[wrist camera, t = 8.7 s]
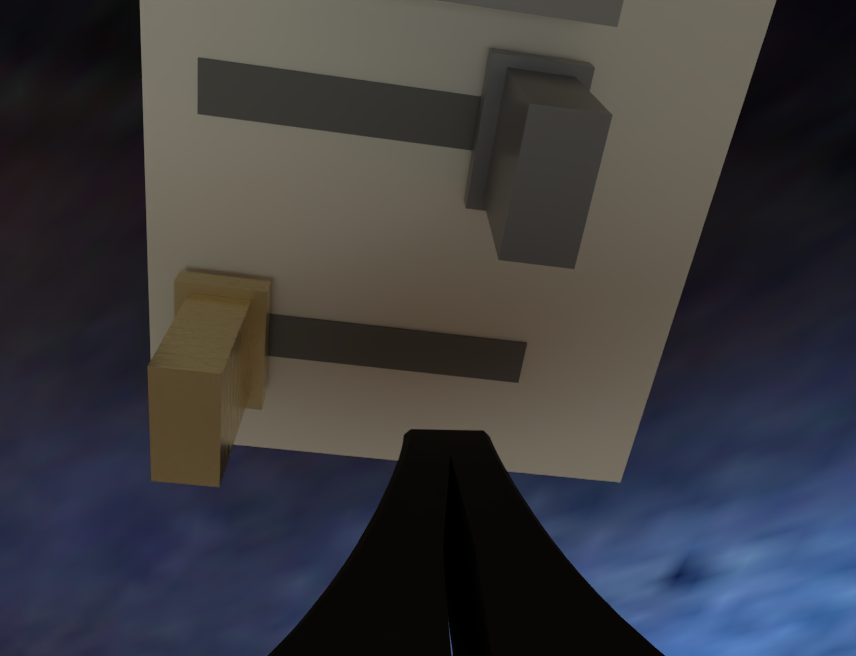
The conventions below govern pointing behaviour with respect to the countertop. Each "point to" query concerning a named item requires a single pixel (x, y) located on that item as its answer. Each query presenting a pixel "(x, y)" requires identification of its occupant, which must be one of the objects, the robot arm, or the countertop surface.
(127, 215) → the countertop surface
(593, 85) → the panel
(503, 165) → the grey slider knob
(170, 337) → the yellow slider knob
